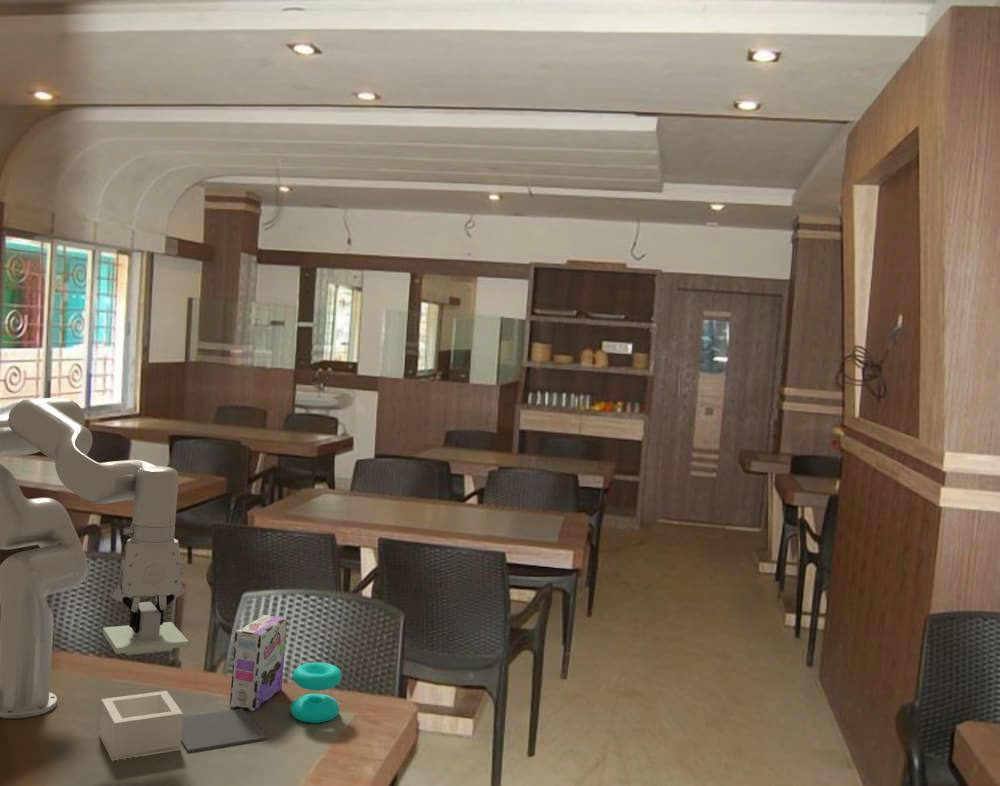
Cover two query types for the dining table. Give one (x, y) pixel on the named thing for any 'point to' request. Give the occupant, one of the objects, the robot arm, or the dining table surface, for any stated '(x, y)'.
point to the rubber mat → (219, 730)
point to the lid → (145, 634)
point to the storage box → (140, 725)
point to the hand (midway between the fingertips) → (145, 629)
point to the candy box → (258, 662)
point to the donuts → (316, 705)
